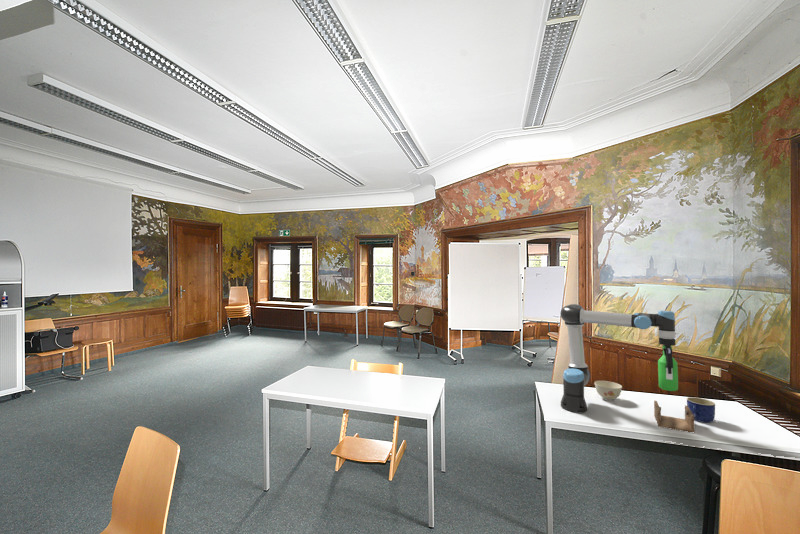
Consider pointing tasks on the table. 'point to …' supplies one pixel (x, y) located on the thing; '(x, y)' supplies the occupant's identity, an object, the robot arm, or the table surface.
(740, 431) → the table surface
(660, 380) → the bottle
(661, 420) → the holder
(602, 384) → the bowl
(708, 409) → the planter
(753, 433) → the table surface
